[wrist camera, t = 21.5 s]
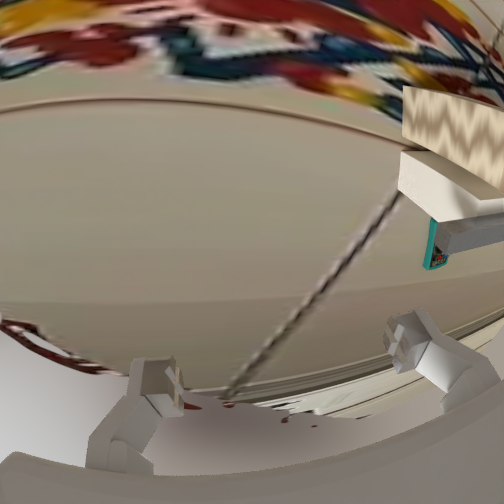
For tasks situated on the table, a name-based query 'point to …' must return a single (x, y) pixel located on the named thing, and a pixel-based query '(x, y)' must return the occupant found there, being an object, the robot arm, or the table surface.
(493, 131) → the tall stand
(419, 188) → the block
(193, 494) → the robot arm
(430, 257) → the digital multimeter
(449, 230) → the rod
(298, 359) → the table surface
